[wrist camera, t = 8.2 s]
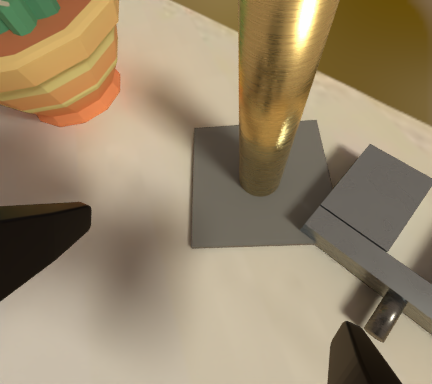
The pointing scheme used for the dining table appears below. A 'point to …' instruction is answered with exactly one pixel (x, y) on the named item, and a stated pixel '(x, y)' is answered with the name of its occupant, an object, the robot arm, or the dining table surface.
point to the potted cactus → (59, 58)
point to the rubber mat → (248, 204)
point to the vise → (376, 235)
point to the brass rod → (275, 81)
